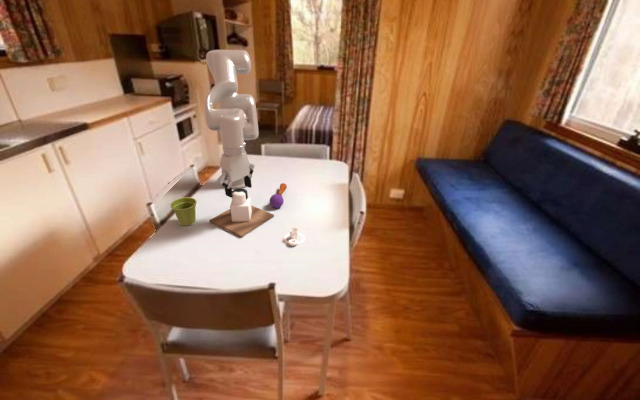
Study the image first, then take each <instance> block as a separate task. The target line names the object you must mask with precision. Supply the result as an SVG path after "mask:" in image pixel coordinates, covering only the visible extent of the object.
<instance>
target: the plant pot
mask: <svg viewBox="0 0 640 400" xmlns="http://www.w3.org/2000/svg"><path fill="white" fill-rule="evenodd" d="M197 201H198V200H197V199H196V198H194V197H191V196H190V197H188V196H187V197H180V198H177V199H175V200H173V201H172V202H171V203H170V205H169V206H170V208H171V209H172V211H173V212H174V214H175V216H176V219H177V221H178V223H179V225H180V226H183V227H187V226H192V225H194V224H195V223H196V221H197V218H196V207H197V204H198V203H197Z"/></svg>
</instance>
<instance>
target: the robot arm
mask: <svg viewBox="0 0 640 400" xmlns="http://www.w3.org/2000/svg"><path fill="white" fill-rule="evenodd" d="M205 59H206V63H207V67H208V69H209V72H210V74H211V76H212V79H213V81H214V86H212V87H211V88H210V90H209V91H208V92H207V94H206V96H205V98H204V105H203V109H204V118H205V124H206V126H207V128H208V129H209V130H211V131H218V132H219V135H220V138H221V139H220V140H221V145H222V152H223V154H221V161H220V162H221V164H220V166H221V174H220V176H219V177H217V179H216V181H217V183H218V184H219V186H222V187H223V188H224V192H225V196H227V197H228V198H230V199H232V197H233V194H232V191H233V190H235V189H239V188H242V189H245V188H250V189H251V188H252V178H253V173H254V169H255V164H253V163H250V162H249V156H248V154H247V151H246V148H245V147H246V146H247V145H246V144H247V143H246V142H245V141H251V140H252V141H254V140H256V139H258V138H259V135H260V134H259V123H258V122H259V121H258V114H257V107H256V99H255V98H254V96H253V95H252V94H249V93H241V94H240V93H238V90H239V83H238V75H249V74H250V73H251V70H252V61H251V57H250V55H249V52H248V51H247V50H245V49H211V50H209V51H208V52H207V53H206V56H205ZM217 103H218V106H219V108H214V106H215V105H216V104H217ZM213 108H214V109H213Z"/></svg>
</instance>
